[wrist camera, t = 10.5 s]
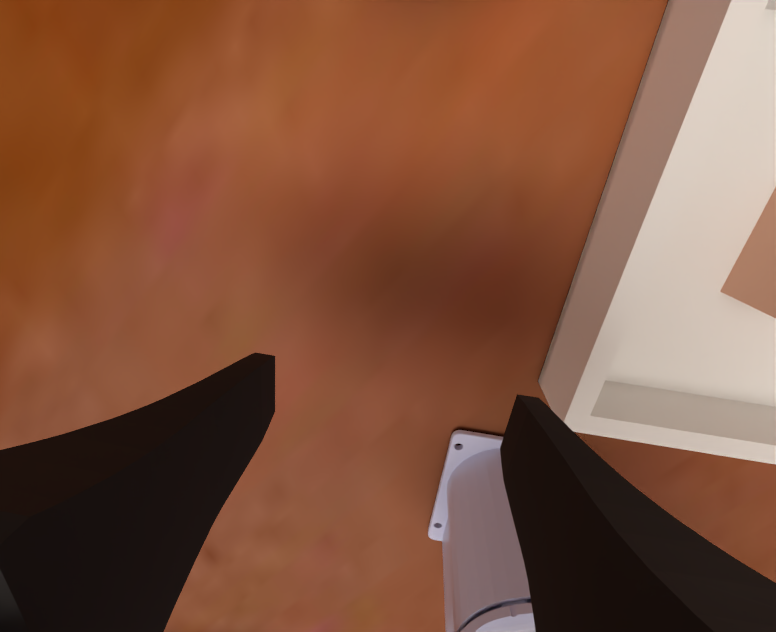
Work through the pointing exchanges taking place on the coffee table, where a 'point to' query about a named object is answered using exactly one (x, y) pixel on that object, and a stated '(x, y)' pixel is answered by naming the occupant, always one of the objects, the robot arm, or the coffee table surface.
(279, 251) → the coffee table surface
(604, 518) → the robot arm
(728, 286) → the brown cube block
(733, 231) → the tray
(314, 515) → the coffee table surface
